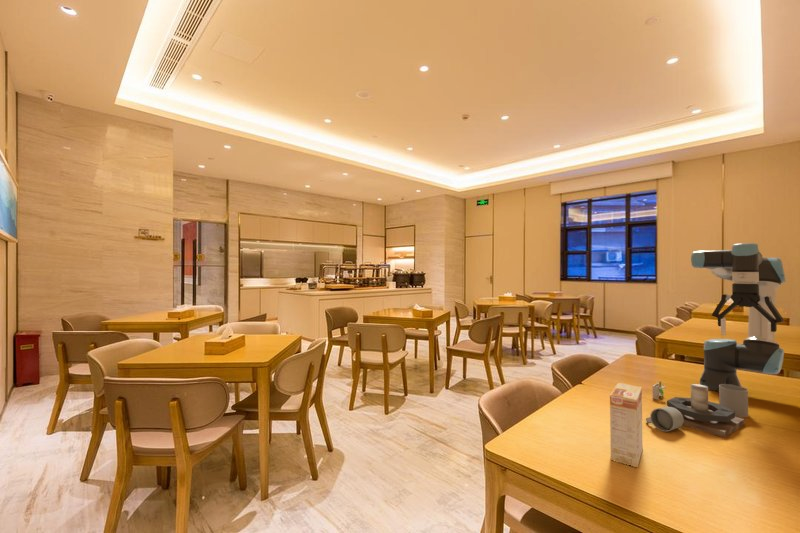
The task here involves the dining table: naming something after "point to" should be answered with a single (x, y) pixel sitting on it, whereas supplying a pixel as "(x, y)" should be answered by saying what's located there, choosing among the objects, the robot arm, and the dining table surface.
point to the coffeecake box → (626, 424)
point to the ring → (718, 413)
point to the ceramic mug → (666, 418)
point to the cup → (734, 399)
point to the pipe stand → (701, 403)
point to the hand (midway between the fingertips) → (745, 337)
